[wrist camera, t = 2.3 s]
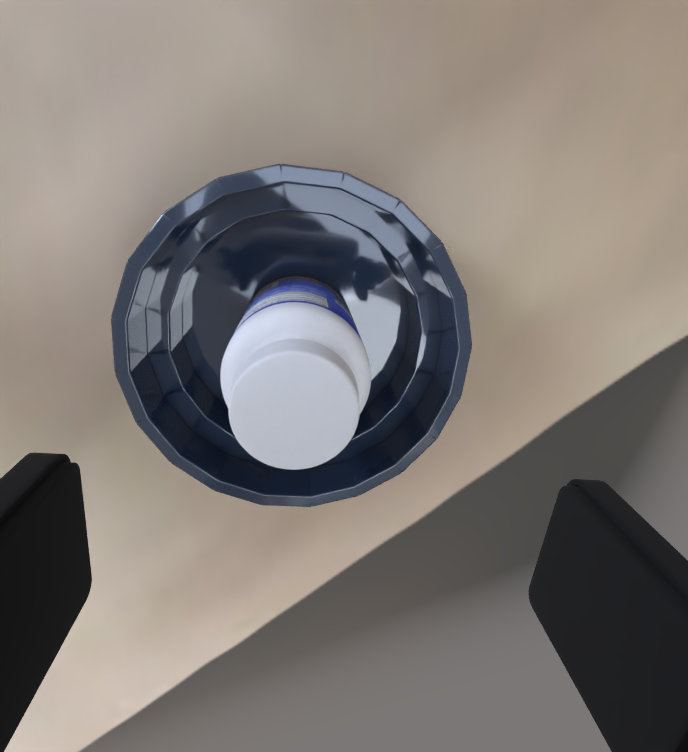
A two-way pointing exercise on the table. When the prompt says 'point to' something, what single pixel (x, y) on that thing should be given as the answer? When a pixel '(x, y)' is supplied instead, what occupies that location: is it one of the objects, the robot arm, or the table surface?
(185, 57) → the table surface
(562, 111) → the table surface
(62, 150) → the table surface
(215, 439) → the bowl
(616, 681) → the robot arm
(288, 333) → the pill bottle
